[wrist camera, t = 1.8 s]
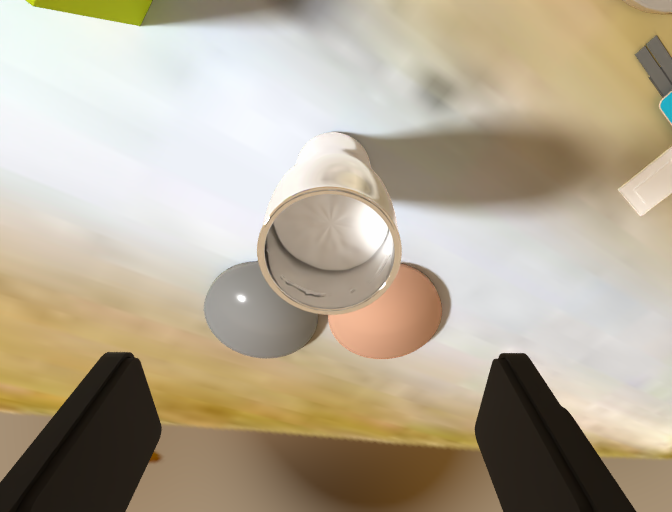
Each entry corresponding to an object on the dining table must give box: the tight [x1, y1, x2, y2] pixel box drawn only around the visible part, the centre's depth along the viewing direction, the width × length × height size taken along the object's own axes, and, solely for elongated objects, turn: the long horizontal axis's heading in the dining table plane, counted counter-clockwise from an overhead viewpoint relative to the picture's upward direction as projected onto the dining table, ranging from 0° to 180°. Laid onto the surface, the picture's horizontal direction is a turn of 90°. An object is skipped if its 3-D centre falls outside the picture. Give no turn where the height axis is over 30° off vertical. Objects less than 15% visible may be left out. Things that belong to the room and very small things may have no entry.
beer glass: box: [257, 132, 402, 315], centre depth 23 cm, size 7×7×15 cm
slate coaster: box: [204, 261, 318, 358], centre depth 36 cm, size 11×11×1 cm
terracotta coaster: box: [328, 264, 442, 359], centre depth 36 cm, size 11×11×1 cm
